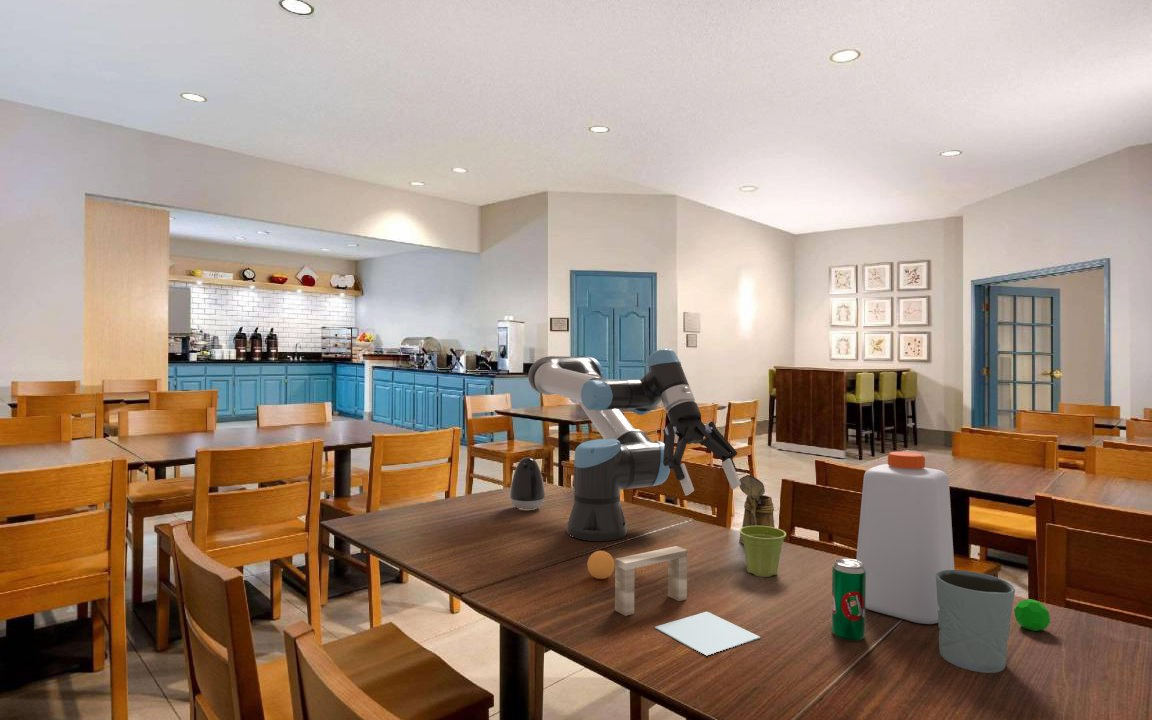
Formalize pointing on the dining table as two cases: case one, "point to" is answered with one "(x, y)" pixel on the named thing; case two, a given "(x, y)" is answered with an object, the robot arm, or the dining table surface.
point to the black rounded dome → (527, 485)
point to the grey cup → (974, 619)
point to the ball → (600, 564)
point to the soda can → (848, 599)
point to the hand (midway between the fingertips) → (713, 490)
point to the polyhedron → (1032, 615)
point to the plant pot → (762, 549)
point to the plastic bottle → (905, 537)
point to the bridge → (629, 563)
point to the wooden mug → (756, 504)
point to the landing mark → (707, 633)
